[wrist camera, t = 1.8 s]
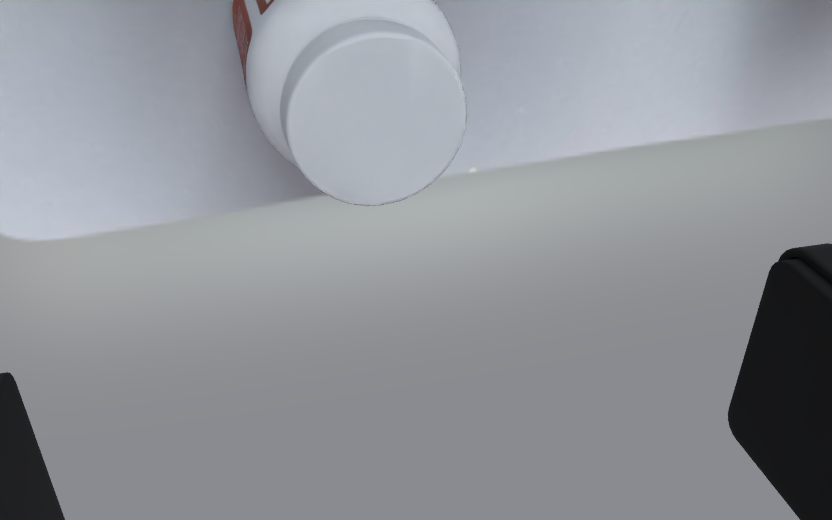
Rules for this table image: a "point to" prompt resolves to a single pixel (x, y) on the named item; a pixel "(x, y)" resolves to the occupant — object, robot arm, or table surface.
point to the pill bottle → (355, 91)
